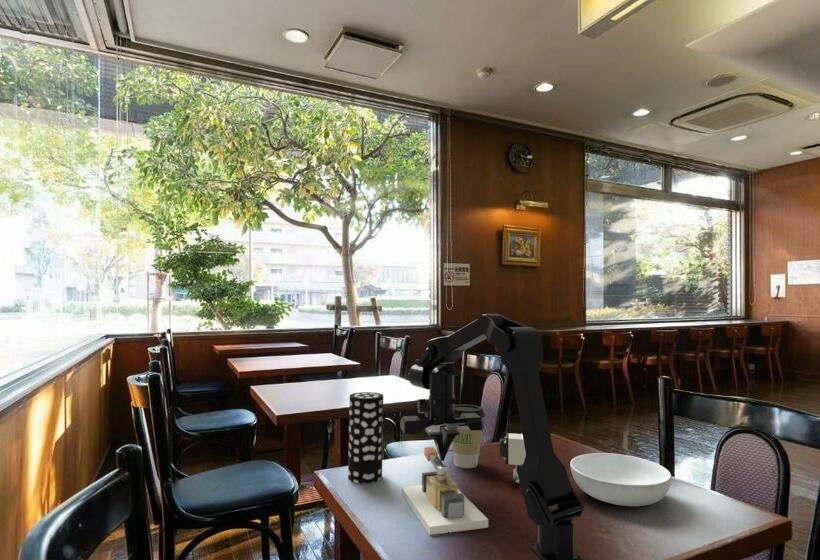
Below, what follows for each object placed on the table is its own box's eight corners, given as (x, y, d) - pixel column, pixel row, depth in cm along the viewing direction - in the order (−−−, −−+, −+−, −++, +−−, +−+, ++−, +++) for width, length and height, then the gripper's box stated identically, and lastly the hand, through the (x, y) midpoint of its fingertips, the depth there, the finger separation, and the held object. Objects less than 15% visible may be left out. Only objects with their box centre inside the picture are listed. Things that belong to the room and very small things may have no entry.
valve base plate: (488, 527, 95) (488, 519, 95) (429, 535, 91) (429, 526, 91) (451, 488, 114) (451, 482, 114) (401, 493, 111) (401, 486, 111)
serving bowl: (569, 476, 123) (569, 448, 124) (661, 487, 117) (661, 458, 117) (570, 510, 103) (570, 477, 104) (681, 525, 97) (681, 490, 97)
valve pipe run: (467, 517, 96) (467, 494, 96) (444, 519, 94) (444, 497, 95) (439, 486, 111) (439, 467, 111) (419, 488, 110) (419, 469, 110)
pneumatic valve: (549, 487, 115) (550, 436, 116) (499, 483, 118) (499, 433, 118) (548, 479, 121) (548, 430, 121) (500, 475, 123) (500, 427, 124)
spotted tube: (341, 479, 119) (342, 396, 119) (360, 469, 126) (361, 391, 127) (370, 486, 115) (371, 400, 116) (388, 475, 122) (389, 394, 123)
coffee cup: (442, 459, 134) (442, 404, 135) (474, 457, 137) (475, 403, 138) (456, 472, 125) (456, 412, 126) (490, 468, 128) (491, 410, 128)
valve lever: (448, 481, 102) (448, 467, 102) (437, 482, 102) (438, 468, 102) (433, 458, 116) (433, 447, 116) (424, 459, 116) (424, 447, 116)
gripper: (469, 385, 124) (469, 447, 123) (396, 388, 120) (396, 452, 120) (484, 393, 113) (484, 462, 113) (405, 397, 109) (405, 467, 109)
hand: (442, 460), depth 114 cm, fingers closed
